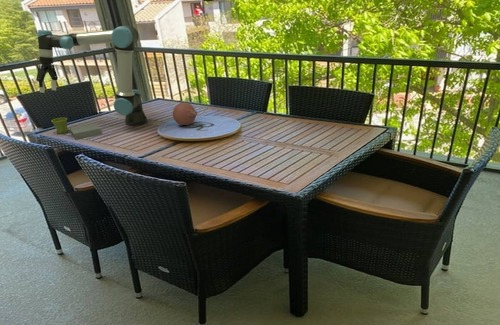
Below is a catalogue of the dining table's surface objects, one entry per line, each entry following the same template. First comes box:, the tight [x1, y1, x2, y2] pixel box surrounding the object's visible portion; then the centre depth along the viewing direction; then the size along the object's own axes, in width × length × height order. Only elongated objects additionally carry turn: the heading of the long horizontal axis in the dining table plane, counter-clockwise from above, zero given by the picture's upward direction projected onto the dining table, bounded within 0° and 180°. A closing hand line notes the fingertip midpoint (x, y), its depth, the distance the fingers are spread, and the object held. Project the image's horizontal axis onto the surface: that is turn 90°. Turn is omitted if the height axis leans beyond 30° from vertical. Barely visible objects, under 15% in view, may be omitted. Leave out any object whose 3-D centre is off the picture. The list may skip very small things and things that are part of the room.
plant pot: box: [51, 117, 69, 134], centre depth 233 cm, size 9×9×9 cm
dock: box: [69, 122, 102, 141], centre depth 228 cm, size 16×14×4 cm
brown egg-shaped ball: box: [172, 102, 198, 126], centre depth 233 cm, size 15×20×15 cm
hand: (48, 91), depth 222 cm, fingers open, 13 cm apart
